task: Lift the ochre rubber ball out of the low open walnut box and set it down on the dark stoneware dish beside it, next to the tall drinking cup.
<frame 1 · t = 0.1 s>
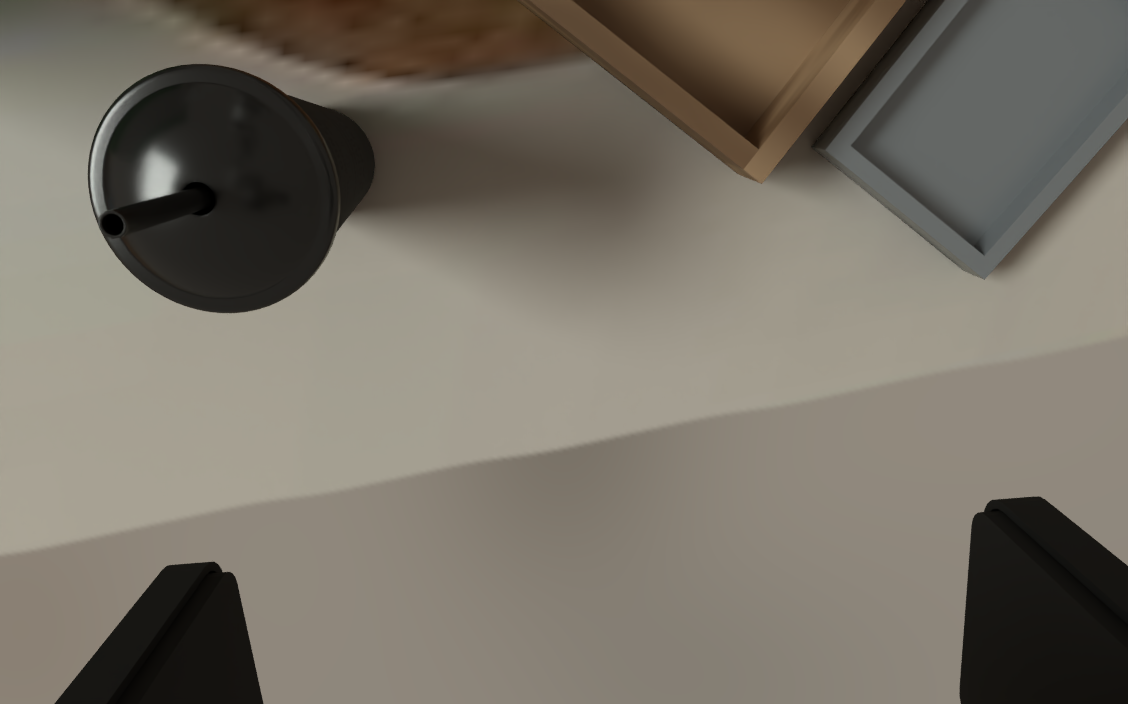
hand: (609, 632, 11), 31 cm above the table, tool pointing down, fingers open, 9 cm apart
drinking cup: (324, 160, 39), on the table
dish: (992, 87, 39), on the table
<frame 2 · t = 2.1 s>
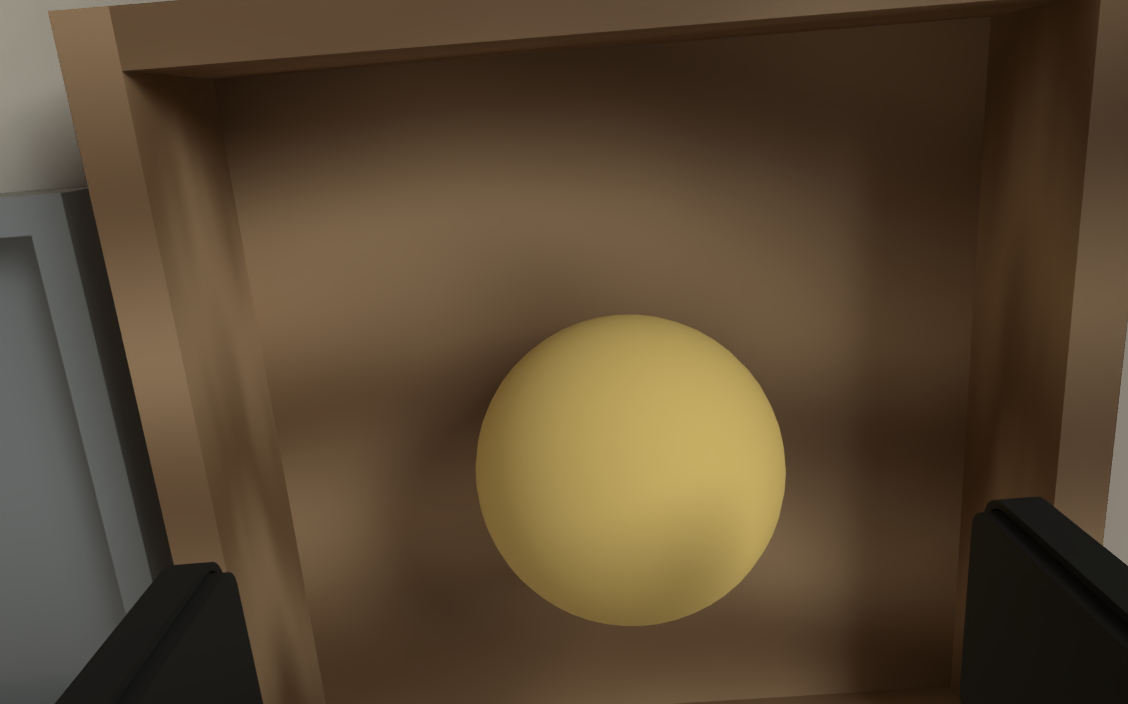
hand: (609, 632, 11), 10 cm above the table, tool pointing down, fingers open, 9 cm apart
ball: (619, 413, 19), point 1 cm above the table, touching walnut box
walnut box: (617, 402, 20), on the table
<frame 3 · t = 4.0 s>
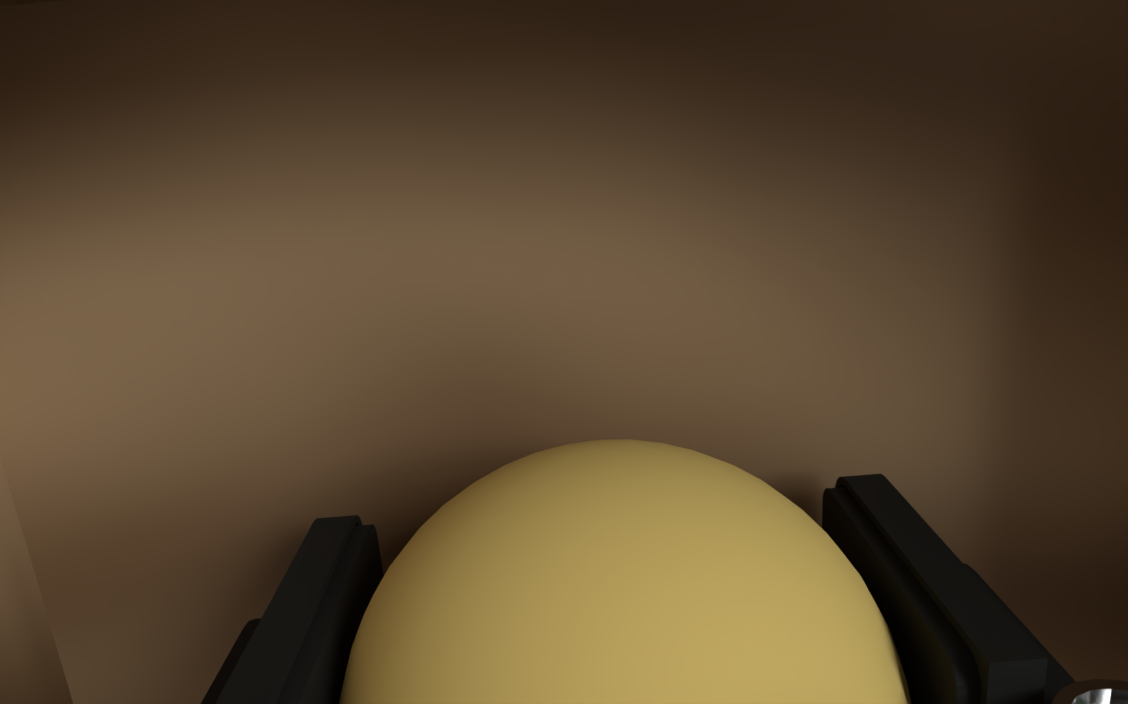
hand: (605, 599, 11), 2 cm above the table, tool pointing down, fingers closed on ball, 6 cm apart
ball: (602, 568, 12), point 1 cm above the table, touching gripper, walnut box
walnut box: (598, 540, 13), on the table
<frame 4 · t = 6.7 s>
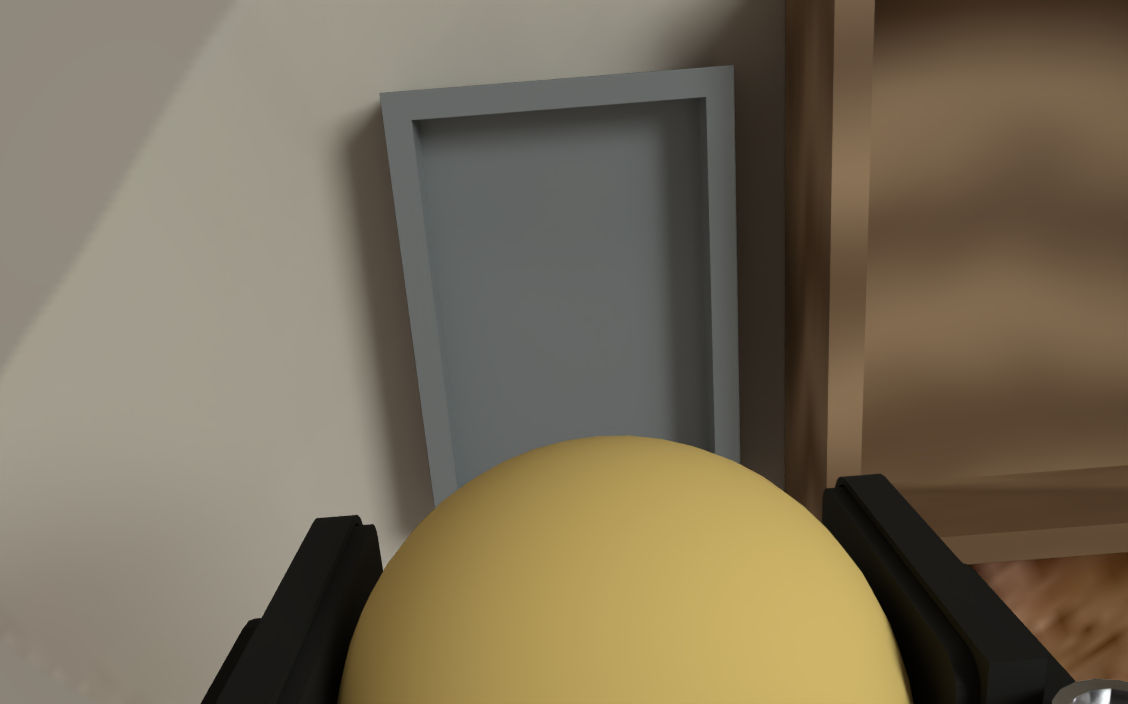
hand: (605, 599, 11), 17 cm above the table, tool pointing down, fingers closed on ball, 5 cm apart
ball: (602, 565, 12), point 16 cm above the table, touching gripper
walnut box: (1062, 235, 27), on the table
dish: (572, 303, 28), on the table
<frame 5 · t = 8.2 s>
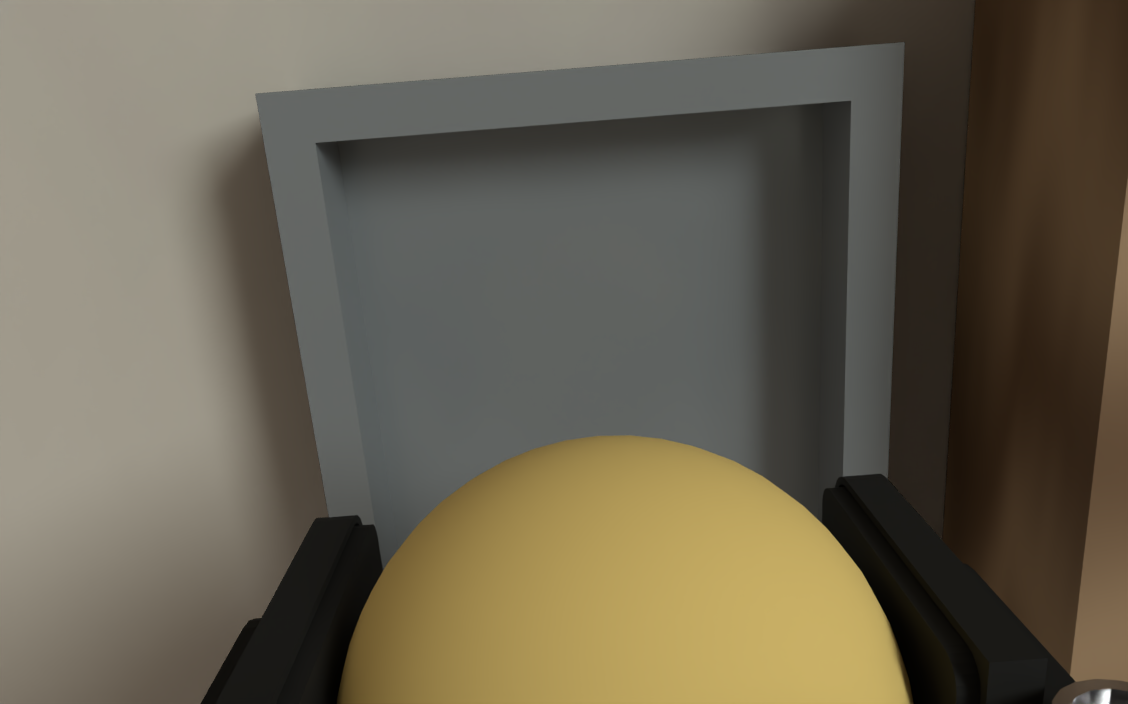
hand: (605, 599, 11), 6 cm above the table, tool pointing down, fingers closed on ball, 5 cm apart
ball: (602, 565, 12), point 5 cm above the table, touching gripper
dish: (600, 439, 17), on the table
when the fingers open (3 cm above the table, at t = 9.7 s): ball drops 1 cm, resting on dish.
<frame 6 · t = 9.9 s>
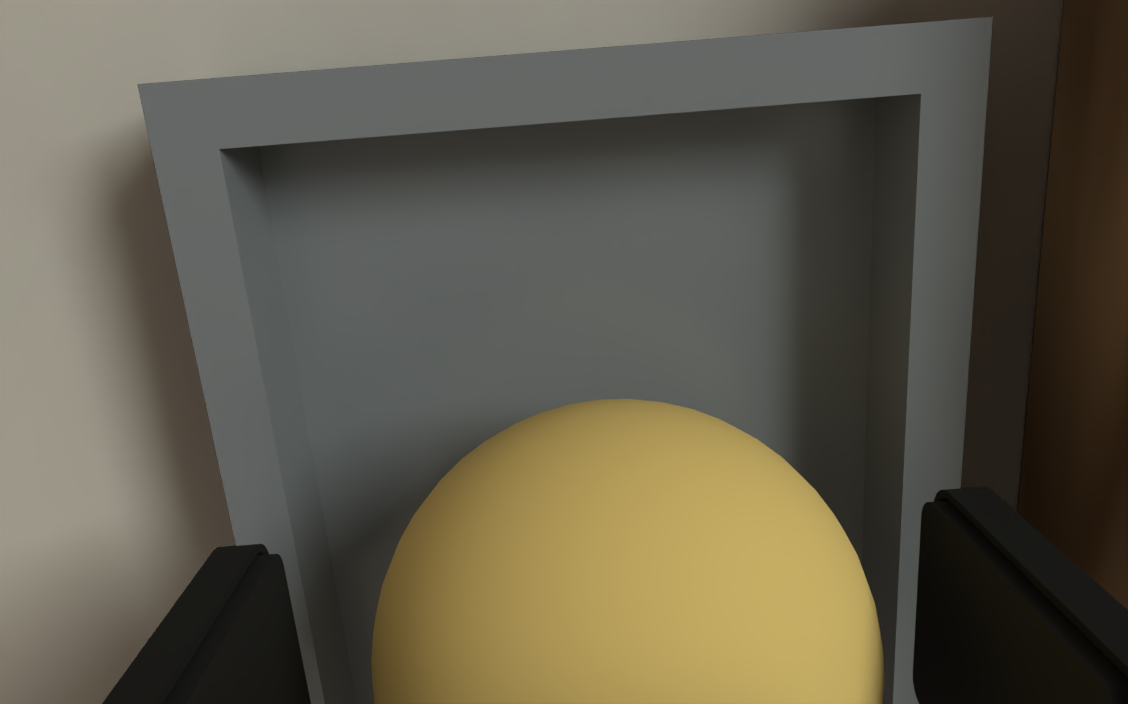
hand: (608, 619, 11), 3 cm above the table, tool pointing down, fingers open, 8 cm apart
ball: (597, 525, 13), point 1 cm above the table, touching dish
dish: (594, 509, 14), on the table
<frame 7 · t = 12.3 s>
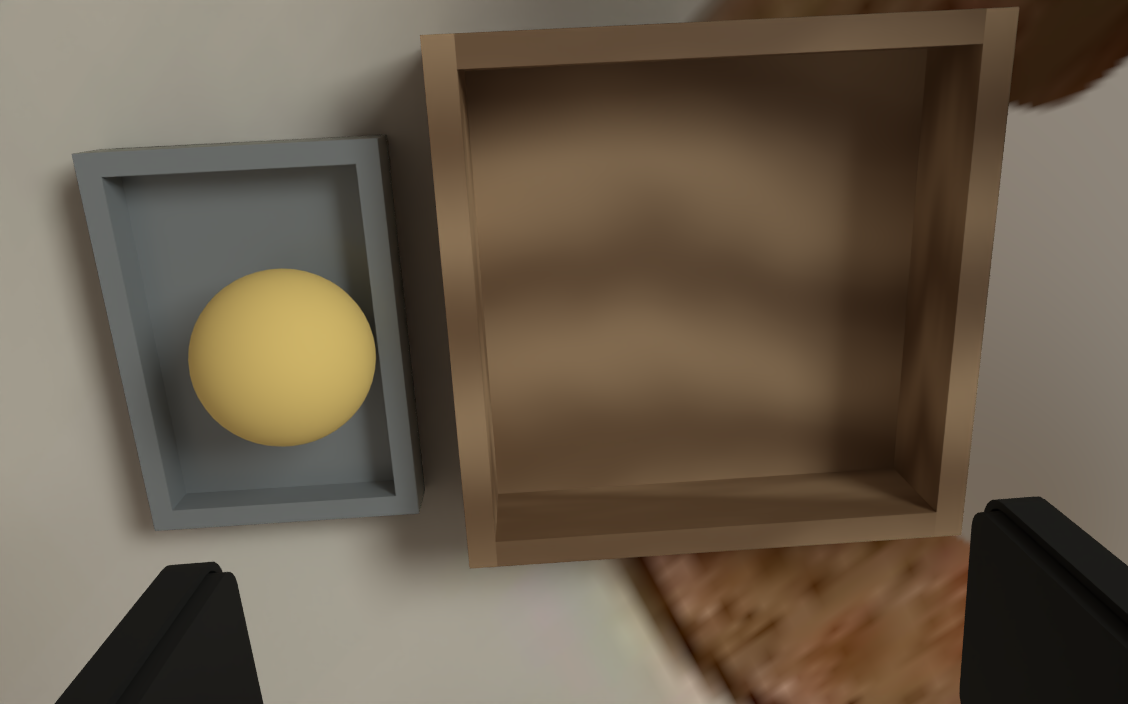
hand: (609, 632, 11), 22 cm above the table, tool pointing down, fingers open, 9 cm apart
ball: (269, 337, 31), point 1 cm above the table, tilted 26°, touching dish
walnut box: (693, 281, 32), on the table
dish: (274, 331, 32), on the table
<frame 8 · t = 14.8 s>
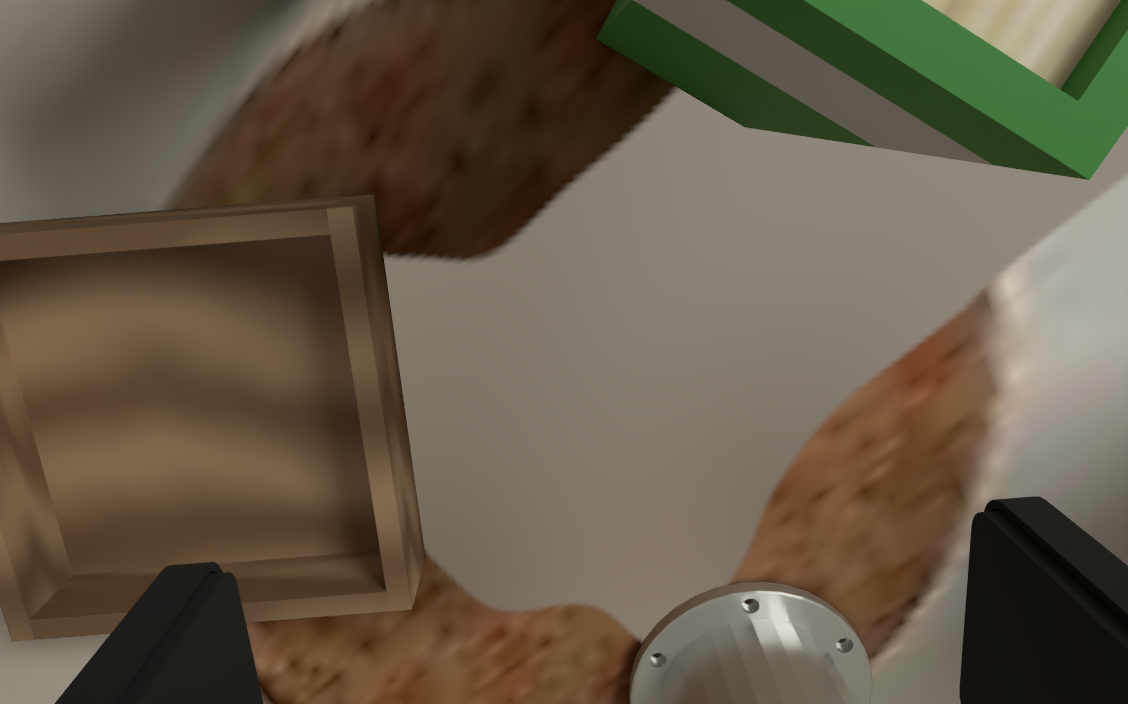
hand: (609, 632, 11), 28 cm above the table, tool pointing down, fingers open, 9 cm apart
walnut box: (210, 402, 39), on the table
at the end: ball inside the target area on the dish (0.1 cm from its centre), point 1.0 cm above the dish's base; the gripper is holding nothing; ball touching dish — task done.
